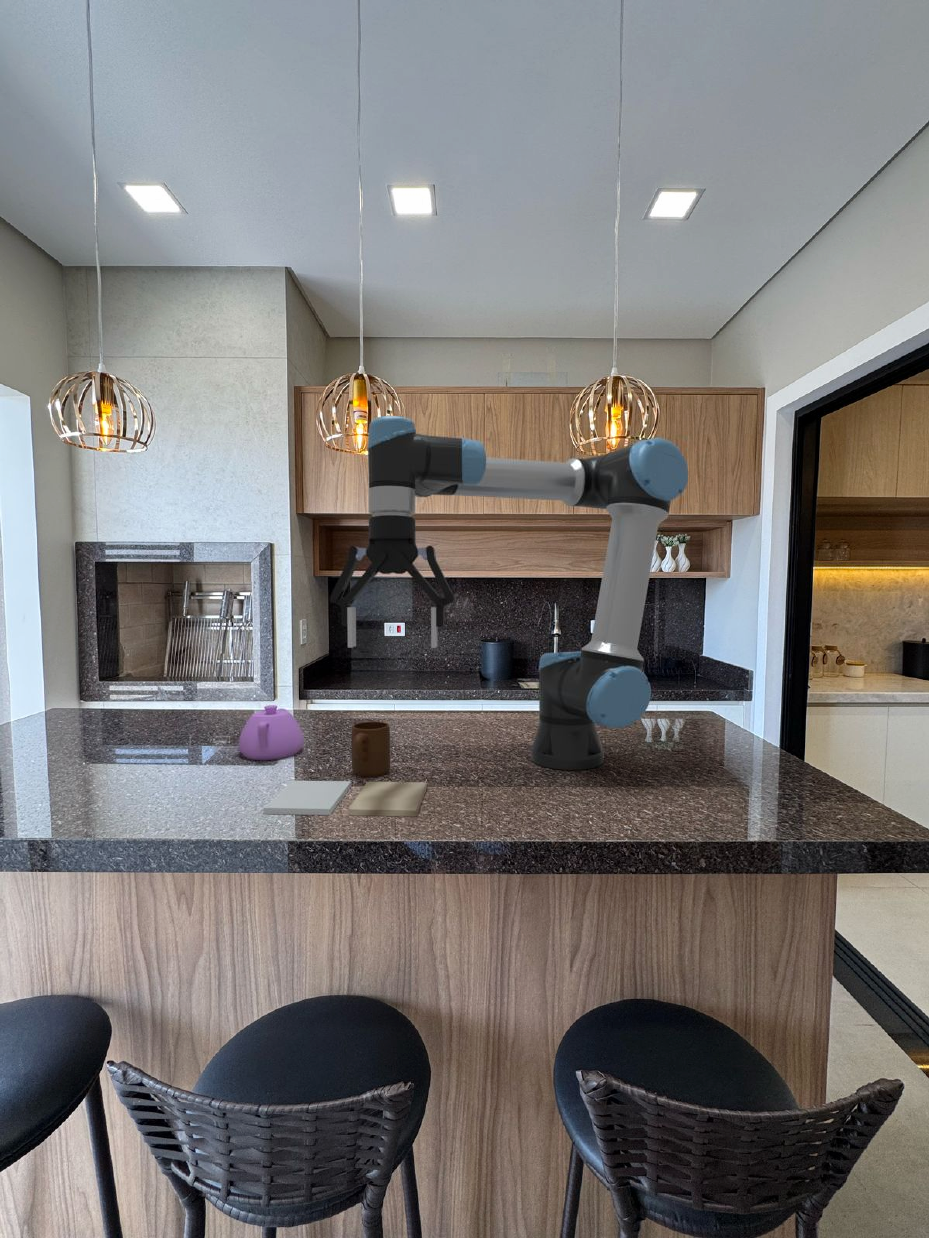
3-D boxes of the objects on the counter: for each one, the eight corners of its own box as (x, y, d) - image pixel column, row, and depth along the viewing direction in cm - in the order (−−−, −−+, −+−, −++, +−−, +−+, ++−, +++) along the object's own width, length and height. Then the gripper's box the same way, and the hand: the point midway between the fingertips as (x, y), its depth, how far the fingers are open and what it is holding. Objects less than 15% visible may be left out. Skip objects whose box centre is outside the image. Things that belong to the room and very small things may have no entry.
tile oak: (426, 787, 111) (426, 782, 111) (416, 816, 97) (416, 810, 97) (367, 786, 112) (367, 781, 112) (348, 815, 98) (348, 809, 98)
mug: (375, 786, 112) (375, 735, 112) (337, 783, 114) (336, 734, 113) (395, 767, 124) (394, 721, 124) (359, 765, 126) (359, 720, 125)
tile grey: (351, 786, 112) (351, 781, 112) (330, 815, 98) (329, 808, 98) (292, 785, 113) (292, 780, 113) (263, 813, 99) (263, 807, 99)
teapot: (312, 740, 147) (311, 696, 146) (294, 764, 127) (293, 713, 126) (253, 741, 146) (252, 697, 145) (227, 766, 126) (225, 715, 126)
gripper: (469, 518, 102) (469, 645, 103) (322, 519, 103) (324, 644, 104) (468, 513, 94) (468, 649, 95) (309, 514, 96) (311, 648, 97)
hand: (393, 647), depth 100 cm, fingers open, 13 cm apart
